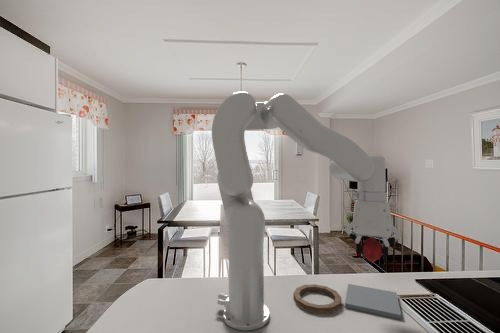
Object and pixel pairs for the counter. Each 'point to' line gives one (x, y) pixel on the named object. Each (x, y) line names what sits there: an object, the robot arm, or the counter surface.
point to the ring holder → (314, 307)
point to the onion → (371, 249)
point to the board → (373, 301)
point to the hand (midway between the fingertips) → (371, 256)
